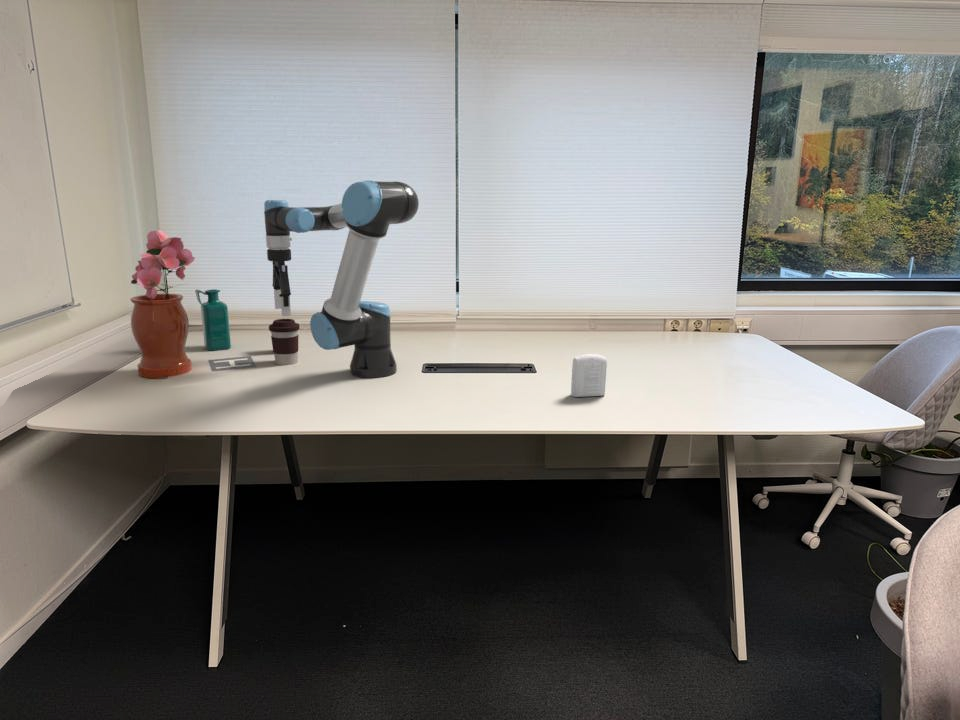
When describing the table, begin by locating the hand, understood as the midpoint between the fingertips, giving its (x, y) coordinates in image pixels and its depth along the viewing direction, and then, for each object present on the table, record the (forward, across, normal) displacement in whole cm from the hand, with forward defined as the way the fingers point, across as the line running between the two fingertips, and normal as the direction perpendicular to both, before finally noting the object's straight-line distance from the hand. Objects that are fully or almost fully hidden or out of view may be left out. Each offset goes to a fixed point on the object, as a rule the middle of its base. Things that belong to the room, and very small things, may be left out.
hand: (282, 312), depth 223 cm
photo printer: (+17, -72, -74) cm, 105 cm away
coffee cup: (+18, 0, 0) cm, 18 cm away
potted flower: (+18, +5, +36) cm, 40 cm away
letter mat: (+18, +6, +17) cm, 25 cm away
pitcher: (+18, +32, +20) cm, 42 cm away
